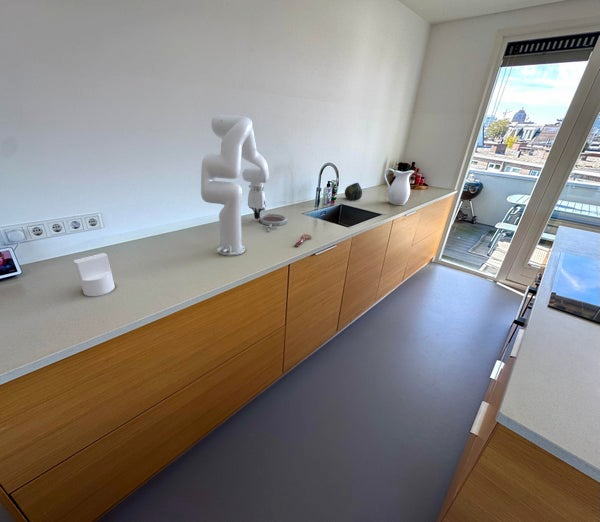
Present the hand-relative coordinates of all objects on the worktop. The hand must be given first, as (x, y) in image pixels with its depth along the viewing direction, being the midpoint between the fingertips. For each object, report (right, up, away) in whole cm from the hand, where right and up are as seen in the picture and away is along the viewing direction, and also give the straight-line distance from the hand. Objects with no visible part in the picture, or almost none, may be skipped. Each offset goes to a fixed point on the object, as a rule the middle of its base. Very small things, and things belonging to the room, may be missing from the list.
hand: (257, 218), depth 176 cm
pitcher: (+106, +24, +70) cm, 129 cm away
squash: (+72, +27, +72) cm, 105 cm away
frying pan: (+9, -4, -2) cm, 10 cm away
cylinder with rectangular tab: (-43, -36, -76) cm, 95 cm away
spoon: (+27, -16, -24) cm, 40 cm away
